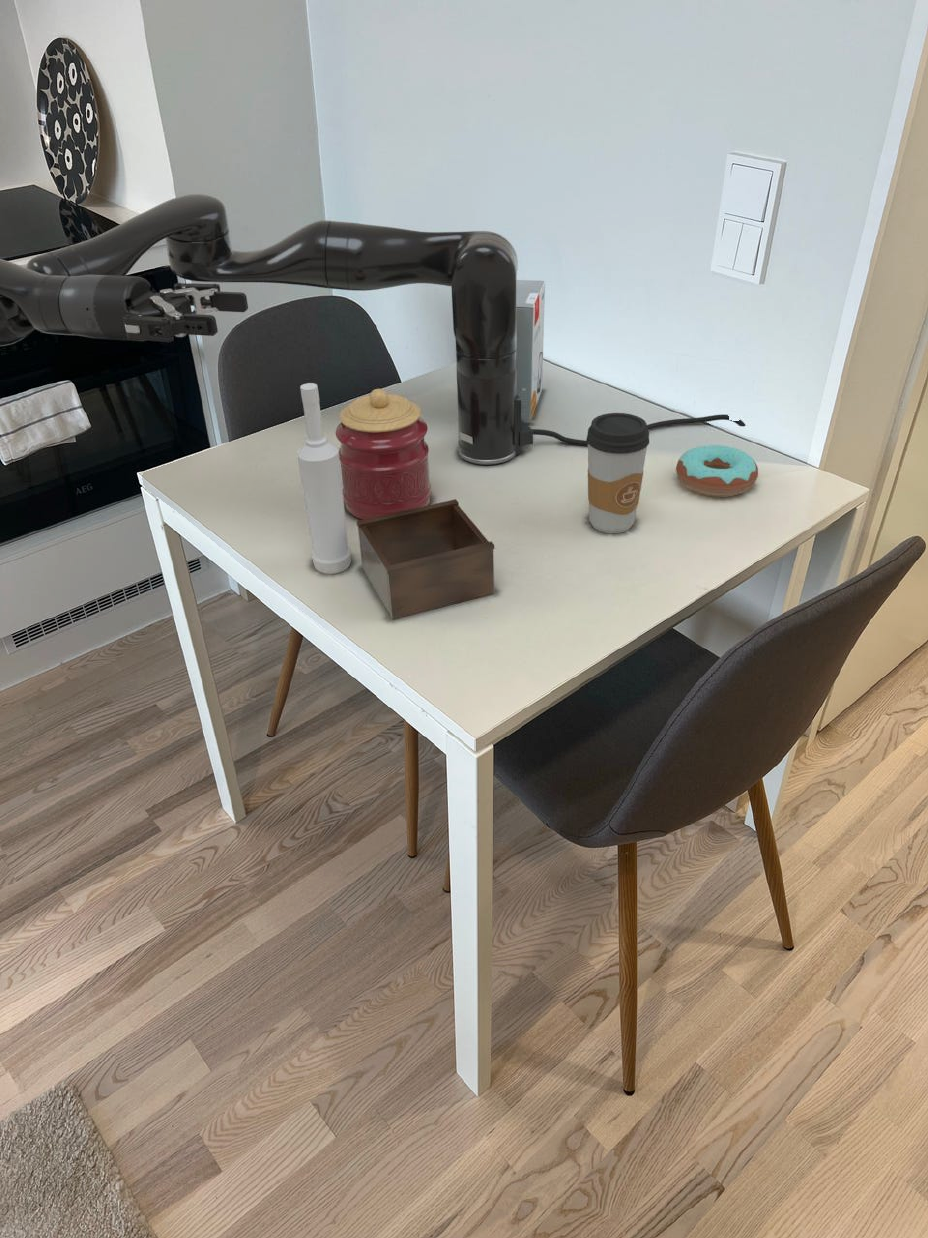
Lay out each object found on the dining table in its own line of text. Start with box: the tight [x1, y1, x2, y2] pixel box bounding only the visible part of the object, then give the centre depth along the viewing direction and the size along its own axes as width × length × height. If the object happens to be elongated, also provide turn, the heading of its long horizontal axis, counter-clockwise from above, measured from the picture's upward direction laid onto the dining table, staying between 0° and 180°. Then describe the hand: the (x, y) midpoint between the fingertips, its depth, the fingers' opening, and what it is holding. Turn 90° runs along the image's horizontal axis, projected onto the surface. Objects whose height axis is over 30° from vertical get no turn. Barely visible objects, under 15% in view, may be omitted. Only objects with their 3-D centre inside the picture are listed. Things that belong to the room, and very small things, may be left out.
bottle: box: [296, 382, 352, 575], centre depth 118 cm, size 5×5×25 cm
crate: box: [355, 498, 495, 620], centre depth 119 cm, size 14×13×7 cm
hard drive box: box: [516, 279, 546, 424], centre depth 160 cm, size 16×8×20 cm, turn 168°
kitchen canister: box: [335, 388, 432, 520], centre depth 133 cm, size 13×13×18 cm
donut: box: [675, 444, 759, 498], centre depth 139 cm, size 12×12×4 cm
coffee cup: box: [585, 412, 650, 534], centre depth 127 cm, size 8×8×15 cm
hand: (231, 313), depth 111 cm, fingers open, 8 cm apart
